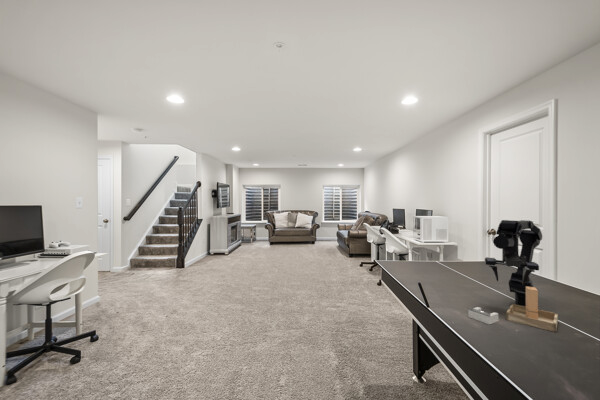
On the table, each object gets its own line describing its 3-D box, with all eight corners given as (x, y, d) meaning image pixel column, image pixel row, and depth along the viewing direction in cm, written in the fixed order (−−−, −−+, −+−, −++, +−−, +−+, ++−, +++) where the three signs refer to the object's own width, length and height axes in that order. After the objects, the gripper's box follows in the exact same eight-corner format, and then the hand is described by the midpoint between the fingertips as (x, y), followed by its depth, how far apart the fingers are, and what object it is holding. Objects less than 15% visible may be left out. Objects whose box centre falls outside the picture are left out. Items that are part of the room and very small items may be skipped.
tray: (511, 311, 120) (511, 303, 120) (557, 321, 109) (557, 313, 109) (506, 320, 110) (505, 312, 110) (556, 333, 99) (556, 324, 99)
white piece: (478, 314, 116) (478, 304, 116) (499, 321, 109) (499, 310, 109) (468, 317, 112) (468, 307, 112) (489, 325, 105) (489, 314, 105)
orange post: (525, 316, 112) (525, 286, 113) (535, 318, 111) (534, 287, 111) (528, 320, 108) (528, 289, 109) (538, 322, 107) (537, 290, 107)
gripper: (487, 247, 118) (486, 282, 117) (542, 252, 108) (542, 290, 107) (484, 245, 127) (484, 278, 126) (535, 249, 118) (535, 284, 117)
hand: (510, 282), depth 119 cm, fingers open, 9 cm apart
